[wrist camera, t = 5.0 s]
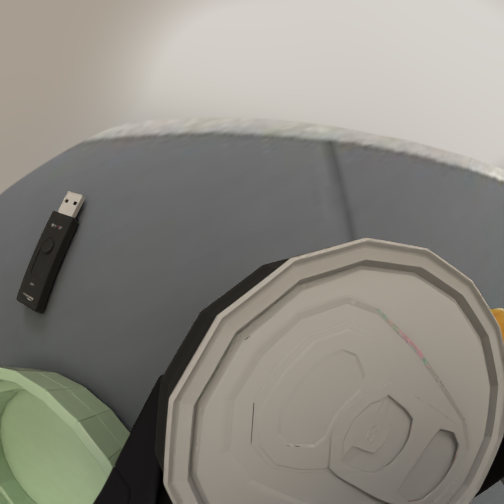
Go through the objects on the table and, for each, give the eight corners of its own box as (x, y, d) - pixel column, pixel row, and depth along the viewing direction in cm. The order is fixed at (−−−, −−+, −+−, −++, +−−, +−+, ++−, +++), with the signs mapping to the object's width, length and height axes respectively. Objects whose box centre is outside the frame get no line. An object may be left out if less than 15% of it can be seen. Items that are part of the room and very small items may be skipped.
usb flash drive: (69, 196, 16) (63, 188, 15) (90, 201, 16) (84, 193, 15) (23, 302, 13) (14, 298, 13) (42, 314, 13) (34, 311, 13)
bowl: (174, 551, 9) (164, 591, 5) (18, 510, 7) (-14, 527, 3) (142, 378, 13) (111, 384, 9) (-13, 358, 12) (-57, 350, 8)
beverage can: (254, 298, 16) (336, 140, 4) (346, 370, 14) (543, 352, 3) (173, 390, 13) (41, 463, 2) (272, 463, 12) (374, 611, 1)
